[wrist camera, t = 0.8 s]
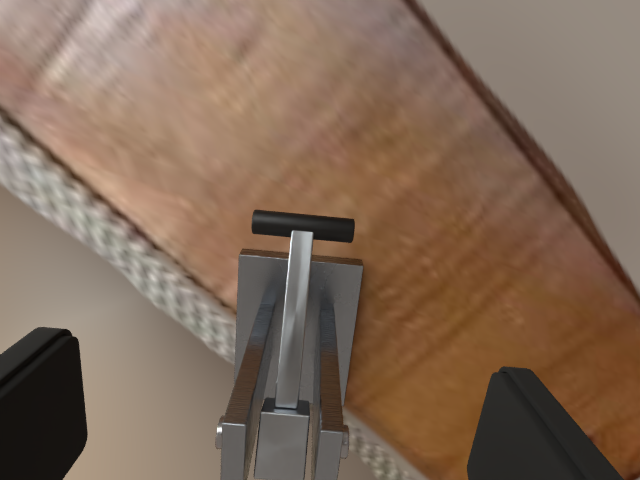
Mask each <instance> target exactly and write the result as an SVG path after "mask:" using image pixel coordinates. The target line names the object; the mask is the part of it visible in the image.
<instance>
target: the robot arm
mask: <svg viewBox="0 0 640 480" xmlns="http://www.w3.org/2000/svg"><path fill="white" fill-rule="evenodd" d="M86 441H87V423H86V413H85V402H84V392H83V381H82V371H81V360H80V350H79V342H78V339H77V338H76V337H73V336H72V334H71V332H70V331H69V330H67V329H59V328H47V327H38V328H37V329H34V330H33V331H31V332H30V333H29V334H27V335H26V336H25V337H23V338H22V339H21V340H19V341H18V342H17V343H15V344H14V345H13V346H11V347H10V348H9V349H7V350H6V351H5V352H4V353H2V354H0V480H63V478H64V477H65V475H66V474H67V473H68V471H69V470H70V468H71V467H72V465H73V464H74V463H75V461H76V460H77V458H78V457H79V456H80V454H81V453H82V451H83V449H84V447H85V444H86ZM467 473H468V479H469V480H624V479H623V478H622V477H621V476H620V475H619V473H618V472H617V471H616V470H615V469H614V467H613V466H612V465H611V464H610V463H609V461H608V460H607V459H606V458H605V457H604V456H603V454H602V453H601V452H600V451H599V450H598V448H597V447H596V446H595V445H594V444H593V442H592V441H591V440H590V439H589V438H588V437H587V435H586V434H585V433H584V432H583V431H582V429H581V428H580V427H579V426H578V425H577V423H576V422H575V421H574V420H573V419H572V418H571V416H570V415H569V414H568V413H567V412H566V410H565V409H564V408H563V407H562V406H561V404H560V403H559V402H558V401H557V400H556V399H555V397H554V396H553V395H552V394H551V393H550V391H549V390H548V389H547V388H546V387H545V385H544V384H543V383H542V382H541V381H540V380H539V378H538V377H537V376H536V375H535V374H534V372H532V371H531V370H530V369H527V368H515V367H501V368H500V370H499V371H498V373H497V372H495V373H493V374H492V376H491V378H490V382H489V386H488V389H487V393H486V397H485V401H484V404H483V408H482V412H481V415H480V419H479V423H478V427H477V430H476V434H475V438H474V441H473V445H472V449H471V453H470V456H469V460H468V465H467Z"/></svg>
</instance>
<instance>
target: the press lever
mask: <svg viewBox="0 0 640 480" xmlns="http://www.w3.org/2000/svg"><path fill="white" fill-rule="evenodd" d="M354 229H355V221H354V219H348V218H338V217H327V216H317V215H306V214H296V213H285V212H275V211H264V210H254V212H253V217H252V233H253V234H262V235H273V236H283V237H291V242H290V252H289V262H288V272H287V282H286V292H285V302H284V312H283V322H282V332H281V342H280V352H279V363H278V373H277V383H276V393H275V398H269V397H266V398H265V401H264V404H263V407H262V409H261V412H260V420H259V430H258V440H257V449H256V460H255V469H254V478H255V479H266V480H304V477H305V466H306V455H307V442H308V432H309V420H310V411H309V401H306V400H299V391H300V380H301V369H302V359H303V348H304V337H305V326H306V315H307V304H308V293H309V282H310V271H311V260H312V250H313V239H315V240H326V241H337V242H348V243H351V242H352V241H353V237H354Z"/></svg>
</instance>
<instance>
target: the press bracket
mask: <svg viewBox="0 0 640 480" xmlns="http://www.w3.org/2000/svg"><path fill="white" fill-rule="evenodd" d="M288 262H289V253H284V252H273V251H262V250H251V249H242V251H241V252H240V254H239V267H238V294H237V320H236V347H235V375H234V388H233V391H232V394H231V397H230V400H229V403H228V407H227V410H226V413H225V416H221V418H220V420H219V423H218V427H217V433H216V448H217V449H221V480H247V478H248V473H249V468H250V463H251V458H252V453H253V448H254V443H255V437H256V433H257V427H258V423H259V418H260V412H261V407H262V403H263V400H265V398H266V397H269V398H275V393H276V383H277V373H278V363H279V352H280V342H281V332H282V322H283V312H284V302H285V292H286V282H287V272H288ZM362 273H363V263H362V260H360V259H349V258H338V257H327V256H316V255H312V260H311V271H310V282H309V293H308V304H307V315H306V326H305V337H304V348H303V359H302V369H301V380H300V391H299V400H306V401H309V403H312V404H313V421H312V463H311V465H312V466H311V480H337V477H338V470H339V464H340V458H342V459H346V458H347V456H348V450H349V429H348V426H347V425H343V415H342V406H344V400H345V393H346V386H347V379H348V372H349V365H350V358H351V351H352V344H353V337H354V330H355V323H356V316H357V309H358V302H359V295H360V288H361V281H362Z"/></svg>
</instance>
